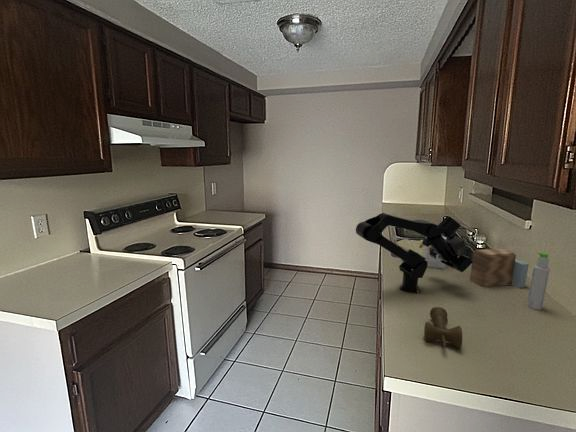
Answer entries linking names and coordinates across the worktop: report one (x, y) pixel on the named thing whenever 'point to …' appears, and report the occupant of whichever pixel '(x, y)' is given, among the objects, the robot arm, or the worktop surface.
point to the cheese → (412, 246)
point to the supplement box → (431, 260)
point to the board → (519, 273)
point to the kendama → (442, 329)
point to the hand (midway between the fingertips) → (460, 270)
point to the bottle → (539, 282)
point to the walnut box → (492, 267)
